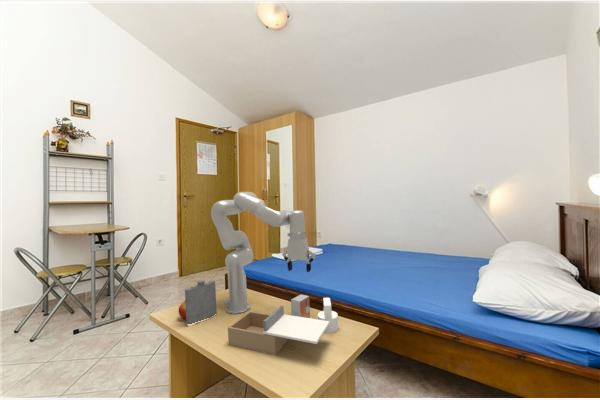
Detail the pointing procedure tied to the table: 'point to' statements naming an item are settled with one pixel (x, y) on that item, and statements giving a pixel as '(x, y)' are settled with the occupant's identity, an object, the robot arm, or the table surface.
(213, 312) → the grey flat upright block
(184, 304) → the apple
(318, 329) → the lid
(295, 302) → the small box
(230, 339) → the tray
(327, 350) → the table surface
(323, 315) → the base with upright slab
